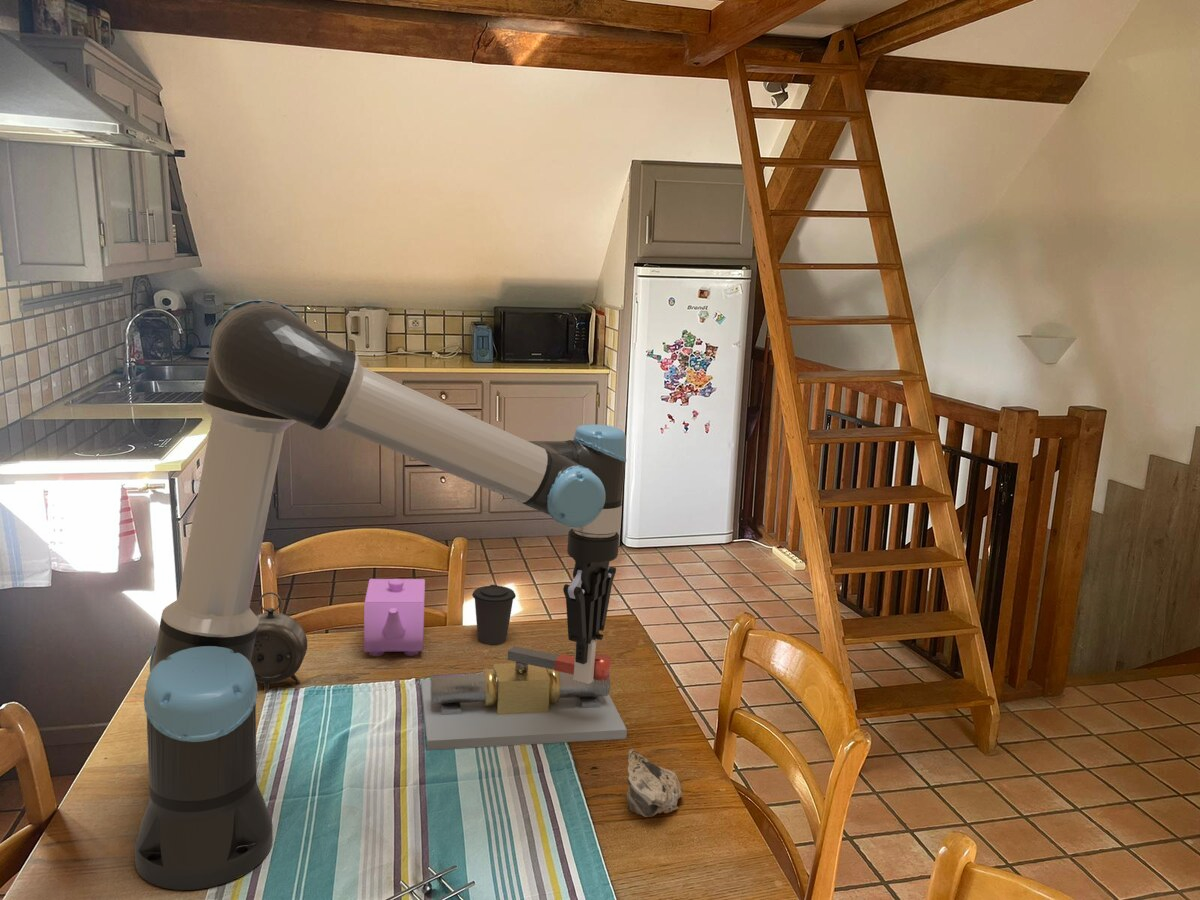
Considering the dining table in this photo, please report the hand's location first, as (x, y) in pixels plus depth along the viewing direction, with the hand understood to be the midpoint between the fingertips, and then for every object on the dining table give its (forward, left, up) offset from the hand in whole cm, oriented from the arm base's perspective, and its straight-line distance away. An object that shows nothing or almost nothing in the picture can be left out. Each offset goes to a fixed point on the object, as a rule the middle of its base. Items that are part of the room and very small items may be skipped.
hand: (583, 680), depth 145 cm
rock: (-20, -6, -9) cm, 23 cm away
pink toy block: (+34, +27, -9) cm, 44 cm away
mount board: (+8, +8, -9) cm, 14 cm away
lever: (+4, +3, -2) cm, 5 cm away
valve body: (+8, +8, -7) cm, 13 cm away
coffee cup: (+37, +9, -9) cm, 39 cm away
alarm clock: (+21, +47, -9) cm, 52 cm away
